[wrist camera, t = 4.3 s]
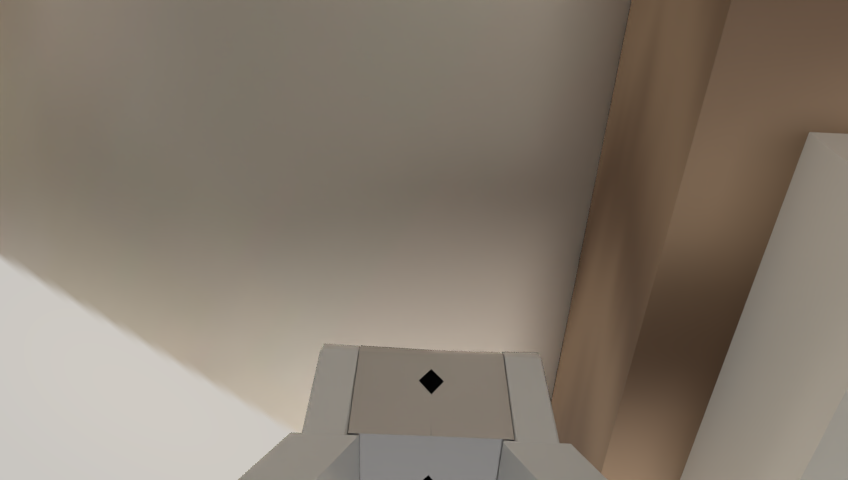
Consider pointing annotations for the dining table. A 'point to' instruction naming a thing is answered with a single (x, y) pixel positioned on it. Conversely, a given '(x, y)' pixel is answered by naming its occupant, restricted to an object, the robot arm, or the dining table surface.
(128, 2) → the dining table surface
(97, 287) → the dining table surface
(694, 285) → the board
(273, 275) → the dining table surface
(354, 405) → the robot arm
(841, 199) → the tile
